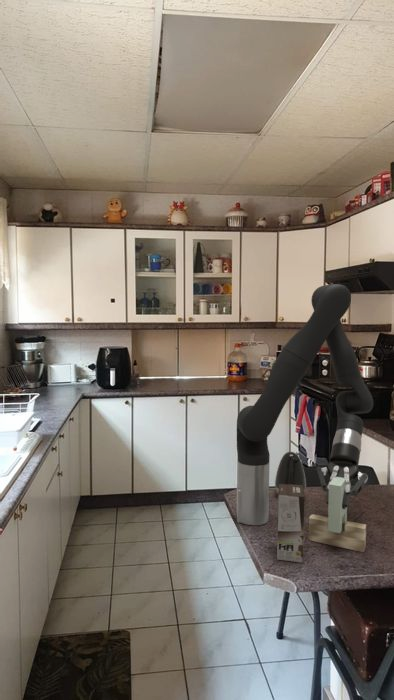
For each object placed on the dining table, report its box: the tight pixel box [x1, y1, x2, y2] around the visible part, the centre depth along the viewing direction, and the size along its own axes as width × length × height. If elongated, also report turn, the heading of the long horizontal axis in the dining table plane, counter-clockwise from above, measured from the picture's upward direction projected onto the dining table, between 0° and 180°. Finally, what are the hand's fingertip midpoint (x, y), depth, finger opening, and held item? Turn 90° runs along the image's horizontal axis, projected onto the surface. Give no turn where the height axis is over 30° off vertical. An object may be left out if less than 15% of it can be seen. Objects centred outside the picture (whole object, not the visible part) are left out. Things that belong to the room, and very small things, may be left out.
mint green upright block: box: [327, 477, 348, 533], centre depth 121 cm, size 9×3×12 cm, turn 152°
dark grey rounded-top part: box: [274, 451, 307, 493], centre depth 155 cm, size 10×10×15 cm
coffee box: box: [276, 484, 306, 563], centre depth 116 cm, size 9×6×16 cm
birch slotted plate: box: [308, 513, 367, 553], centre depth 121 cm, size 14×3×6 cm, turn 62°
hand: (336, 506), depth 119 cm, fingers closed on mint green upright block, 3 cm apart
